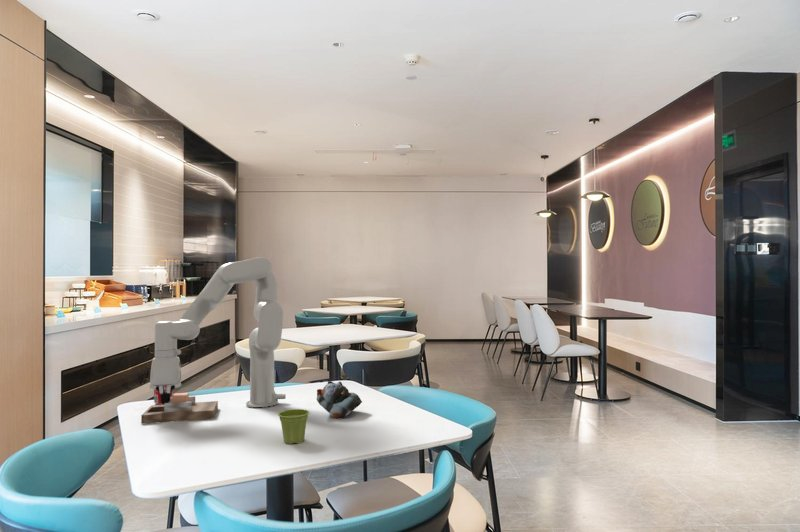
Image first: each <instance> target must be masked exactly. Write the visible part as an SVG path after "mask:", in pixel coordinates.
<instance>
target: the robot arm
mask: <svg viewBox="0 0 800 532" xmlns="http://www.w3.org/2000/svg"><path fill="white" fill-rule="evenodd" d="M272 270H273V265H272V262H271V261H270V260H269V259H268V258H266V257H263V256H258V257H253V258H249V259H244V260H239V261H231V262H227V263H224V264H222V265H220V266H219V268H217V269H216V271H215V273H214V274H213V275H212V276H211V278H210V279H209V280H208V282H207V283H206V285H205V286H204V288H203V289H202V290H201V292H199V294H198V295H197V296H196V298H195V299H194V301H192V303H191V304H190V305H189V306H188V307H187V308H186V310H185V312H184V313H183V314H182V315H181V318H179V320H178V321H173V320H160V321H157V322H156V323H155V325H154V357H153V358H152V360H151V367H150V375H149V376H150V377H149V382H150V384H149V389H150V390H151V389H152V390H154V389H156V390H157V391H159V392H160V394H161V402H162V405H164V404H165V403H169V402H170V392H171V391H172V390H174V389H177V388H179V387H180V388H181V386H182V383H181V381H182V368H181V360H180V357H179V356H178V355H182V350H180V349H178V340H182V341H183V340H184V341H185V340H186V341H189V340H194V339H196V338H197V337H198V336H199V334H200V331H201V328H200V325H201V324H202V322H203V321H204V319H205V318H206V317H207V316H208V315H209V314H210V313H211V312H212V311H214V310H216V308H218V306H220V304H222V302H223V300H224V299H225V298H226V296H227V295H228V294H229V292H230V291H231V289H232V287H234V285H236V284H241V283H247V282H251V281H252V282H254V284H255V300H254V307H253V308H254V309H253V317H254V319H255V320H256V321H257V322H258V324H257V325H258V327H256V328H253V330H252V331H251V332H250V334H249V337H248V347H249V348H248V349H249V357H250V359H249V360H250V361H249V364H250V365H249V379H250V380H249V387H250V388H249V399H250V400H248V401H246V403H245V406H246V407H249V408H253V407H262V408H268V406H270V407H273V405H274V406H276V404H277V405H278V404H279V400H286V393H276V391H275V352H274V351H275V350H277V349H278V347H279V346H280V344H281V339H282V333H283V322H284V312H283V311H284V310H283V308H282V305H281V304H279V303H278V302H277V299H278V298H277V297H278V294H277V293H278V283H277V280H276V279H277V278H276V276H275V275H274V273H273V271H272ZM164 385H168V386H167V391H166V392H165V390H164Z"/></svg>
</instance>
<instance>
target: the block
mask: <svg viewBox="0 0 800 532" xmlns="http://www.w3.org/2000/svg"><path fill="white" fill-rule="evenodd" d="M189 396H190V395H189V392H179V393H178V392H176V393H173V396H172V403H176V402H189Z"/></svg>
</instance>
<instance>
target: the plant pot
mask: <svg viewBox="0 0 800 532" xmlns="http://www.w3.org/2000/svg"><path fill="white" fill-rule="evenodd" d="M309 415H310V411H309V410H307V409H303V408H302V409H300V408H295V409H293V408H292V409H287V410H282V411H280V412H278V413H277V416H278V417H279V420H280V424H281V429H282V430H281V431H282V437H283V442H284V443H285V444H290V445H291V444H294V443H295V444H300V443H303V442H304V440H305V434H306V430H307V429H306V427H307V419H308V417H309Z"/></svg>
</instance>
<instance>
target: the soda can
mask: <svg viewBox="0 0 800 532" xmlns="http://www.w3.org/2000/svg"><path fill="white" fill-rule="evenodd" d="M167 386H168V385H164V390H165V392H166V391H167ZM173 390H174V389H173ZM173 390H172V391H171V392H170V397H172V396H173V395H174V393H173V392H174V391H173ZM153 402H154V404H155V405H162V402H161V394H160V392H159V391H157V390H156V389H153ZM169 403H170V402H169Z"/></svg>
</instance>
